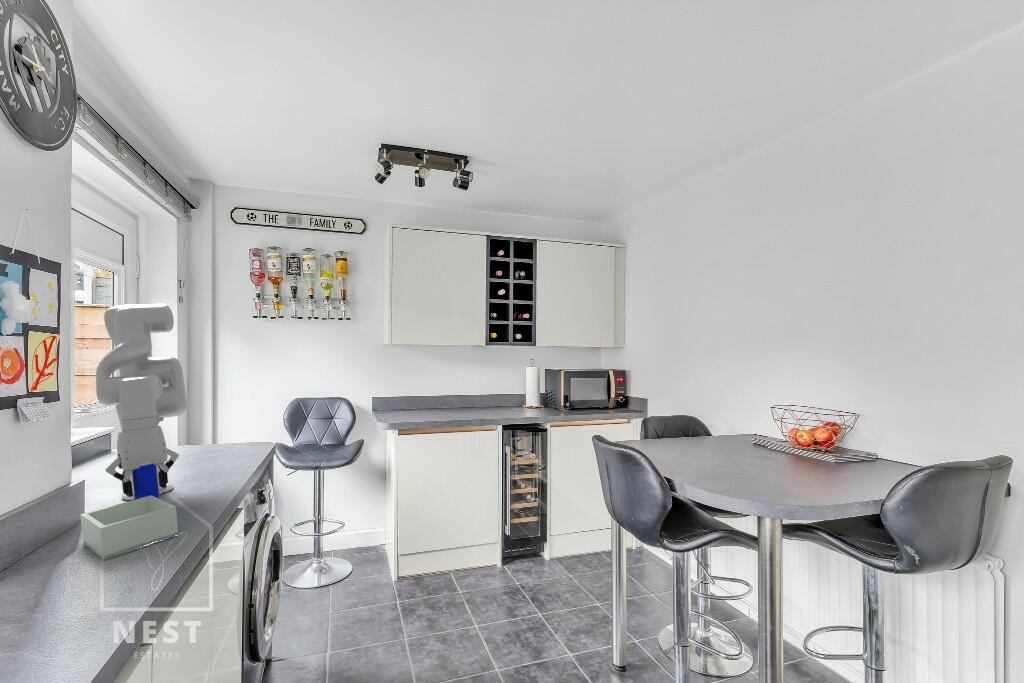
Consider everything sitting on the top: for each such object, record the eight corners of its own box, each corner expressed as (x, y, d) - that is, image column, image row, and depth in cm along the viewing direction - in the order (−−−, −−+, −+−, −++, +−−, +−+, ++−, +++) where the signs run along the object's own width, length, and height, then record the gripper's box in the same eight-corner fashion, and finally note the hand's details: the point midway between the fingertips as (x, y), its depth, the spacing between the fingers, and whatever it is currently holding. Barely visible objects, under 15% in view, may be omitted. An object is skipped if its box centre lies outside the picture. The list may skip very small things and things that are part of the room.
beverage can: (165, 512, 135) (160, 457, 134) (145, 520, 130) (140, 462, 129) (151, 511, 136) (146, 456, 136) (131, 519, 131) (126, 462, 131)
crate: (83, 544, 117) (80, 514, 117) (154, 522, 128) (151, 495, 128) (103, 560, 107) (100, 528, 107) (178, 535, 118) (175, 506, 118)
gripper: (172, 416, 141) (178, 479, 142) (94, 430, 127) (100, 499, 128) (183, 418, 137) (189, 483, 137) (102, 432, 123) (110, 504, 124)
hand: (146, 490), depth 133 cm, fingers open, 6 cm apart
